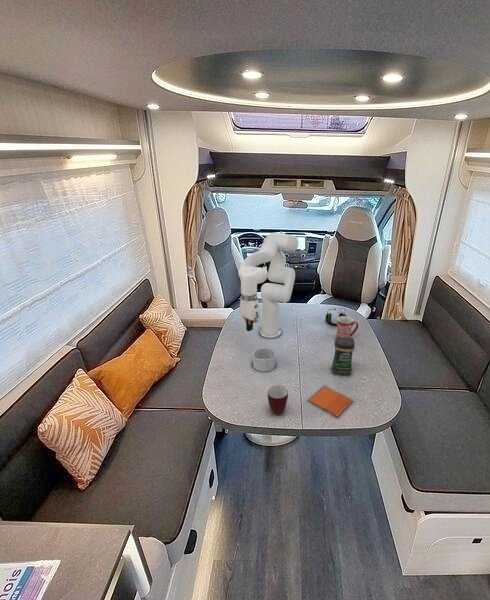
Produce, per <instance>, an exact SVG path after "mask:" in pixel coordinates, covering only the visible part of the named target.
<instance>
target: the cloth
mask: <svg viewBox="0 0 490 600" xmlns="http://www.w3.org/2000/svg"><path fill="white" fill-rule="evenodd" d="M309 402H311V403H312V404H314V405H316V406H317V407H319V408H321V409H323V410H325V411H326V412H328V413H330V414H332V415H333V416H335V417H336V418H337V417H338V416H340V415H341V413H343V411H345V409H346V408H348V406H349V405H350V404H351V403H352V402H353V401H352V400H351V399H350V398H349V397H347V396H345V395H343V394H342V393H338V392H336V391H334V390H332V389H330V388H328V387H326V386H324V387H323V388H322V389H321V390H320V391H318V392H317V393H316V394H315V395H314V396H313V397H311V398H310V399H309Z"/></svg>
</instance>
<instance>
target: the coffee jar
mask: <svg viewBox="0 0 490 600" xmlns="http://www.w3.org/2000/svg"><path fill="white" fill-rule="evenodd" d="M355 343H356V342H355V339H354V337H350V338H348V337H337V336H336V337H335V341H334V343H333V344H334V356H333V359H332V363H331V371H332V373H334V374H335V375H341V376H348V375H351V373H352V368H353V367H352V364H353V363H352V362H353V352H354V351H355V349H356V348H355Z"/></svg>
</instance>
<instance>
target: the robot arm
mask: <svg viewBox="0 0 490 600" xmlns="http://www.w3.org/2000/svg"><path fill="white" fill-rule="evenodd" d="M298 247H299V239H298V237H297V236H295V235H292V234H288V233H280V232H279V233H278V232H270V233H268V234H267V235H266V237H265V238H264V240H263V242H262V244H261V246H260V247H259V249H258V250H256V251H255V252H253V253H251V254H250V255H248V256H246V257H245V258H244V260H243V261H242V263H241V264H240V267H239V269H238V277H239V279H240V300H239V314H240V316H241V318H243V319H244V323H245V330H246V331H247V332H251V331H253V330H254V324H257V323H258V322H259V320H258V319H260V318H261V309H260V302H259V299H258V298H259V297H258V285H259V284H262V285H261V287H260V296H261V303H262V304H261V306H262V321H260V322H259V324H258V327H260V330H259V335H260V336H262V337H263V338H267V339H274V338H278V337H279V336H281V334H282V331H281V328H279V324H280V323H279V322H280V321H279V317H280V315H279V314H280V306H279V303H278V302H280V303H288V302H289V301H291V296H292V293H293V290H294V289H293V288H294V286H295V280H296V272H295V269H294V268H292V267H289V266H286V263H287V258H286V255H285V254H284V252H285V251H287V252H296V251H297V250H298ZM283 251H284V252H283ZM269 262H270V264H269V267H268V270H267V269H266V268H264V267H261V266H257V265H262V264H266V263H269ZM266 280H269V281H270V282H266ZM264 282H266V283H264Z"/></svg>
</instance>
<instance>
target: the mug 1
mask: <svg viewBox="0 0 490 600" xmlns="http://www.w3.org/2000/svg"><path fill="white" fill-rule="evenodd" d="M288 397H289V391H288V389H287V388H286V387H285V386H283V385H281V384H280V385H278V384H277V385H273V386H271V387H269V388H268V390H267V402H268V406H269V409H270V410H271V412H272V413H273V414H274V415H278V416H279V415H281V414H282V413H283V412H284V411H285V409H286V406H287V402H288Z"/></svg>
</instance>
